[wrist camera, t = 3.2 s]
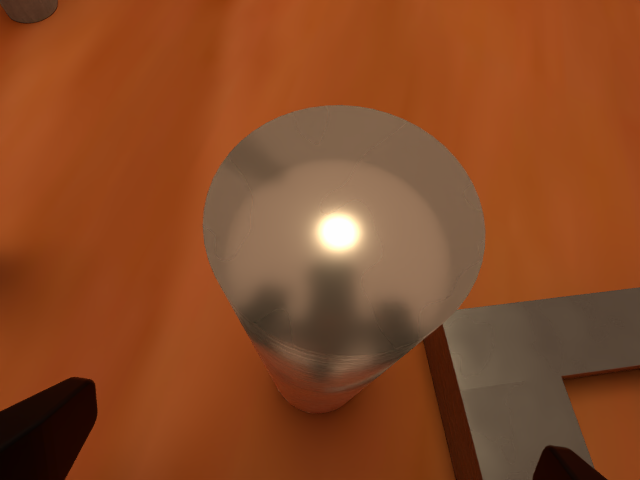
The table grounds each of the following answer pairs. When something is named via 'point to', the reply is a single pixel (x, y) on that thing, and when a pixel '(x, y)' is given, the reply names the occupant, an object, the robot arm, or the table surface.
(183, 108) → the table surface
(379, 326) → the pin
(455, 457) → the grey square frame
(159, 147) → the table surface
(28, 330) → the table surface
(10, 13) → the hip flask
